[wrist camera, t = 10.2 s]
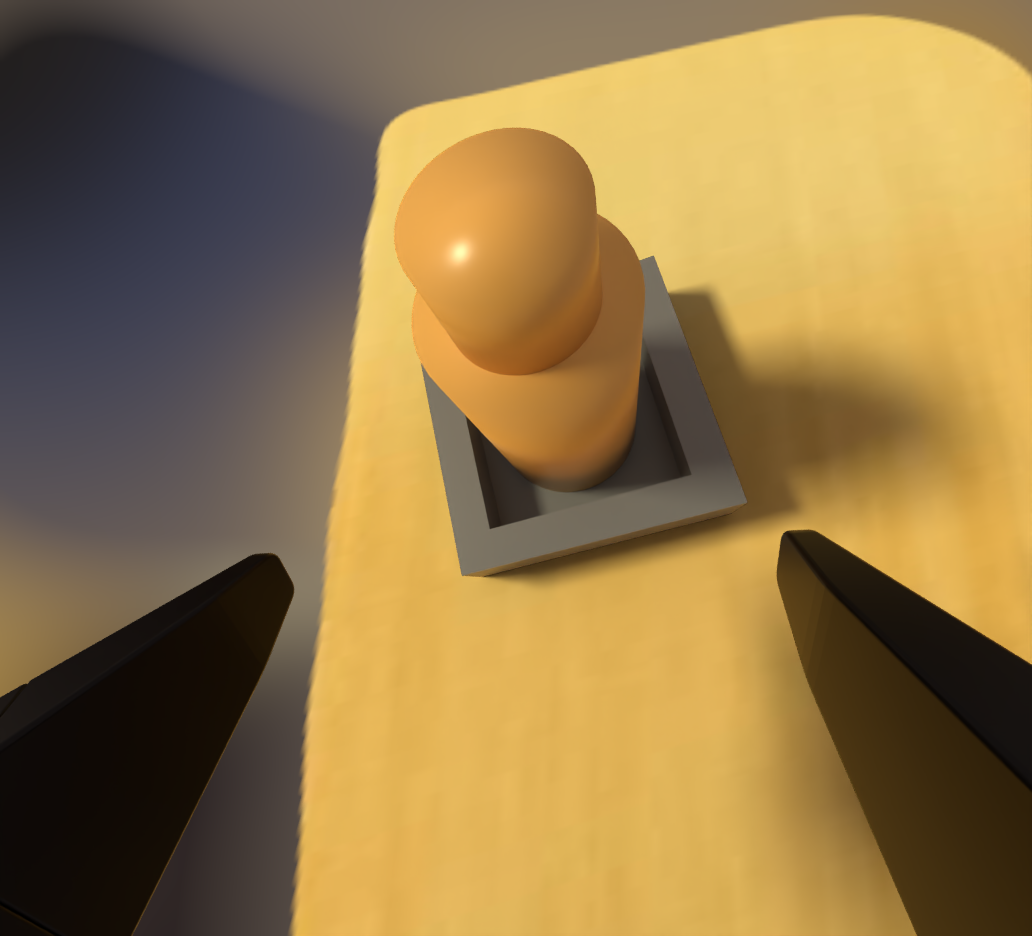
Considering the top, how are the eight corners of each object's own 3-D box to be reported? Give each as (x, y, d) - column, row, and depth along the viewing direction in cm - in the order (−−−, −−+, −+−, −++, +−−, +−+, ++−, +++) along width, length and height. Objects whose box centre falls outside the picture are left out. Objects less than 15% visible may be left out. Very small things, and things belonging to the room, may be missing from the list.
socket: (730, 513, 20) (747, 502, 17) (482, 576, 21) (461, 575, 19) (650, 294, 23) (653, 255, 20) (438, 364, 24) (416, 337, 22)
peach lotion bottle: (662, 447, 20) (722, 234, 8) (541, 516, 21) (420, 417, 8) (591, 343, 22) (549, 38, 10) (481, 408, 23) (310, 197, 10)
